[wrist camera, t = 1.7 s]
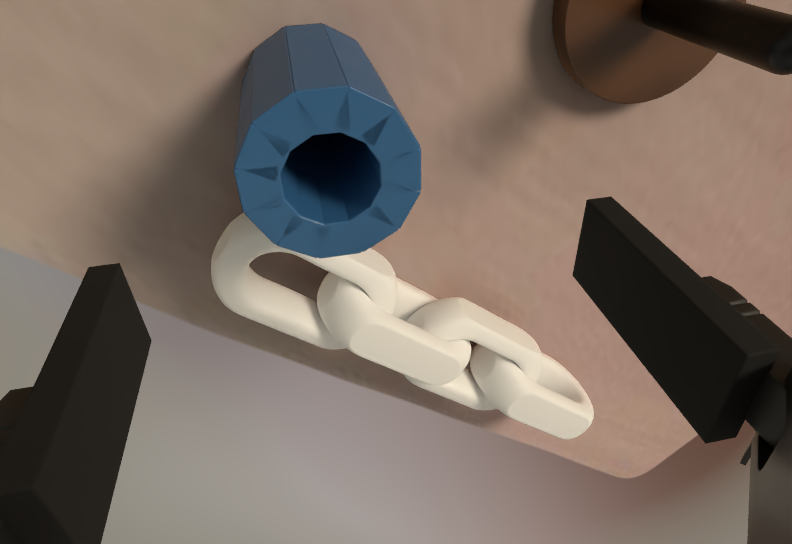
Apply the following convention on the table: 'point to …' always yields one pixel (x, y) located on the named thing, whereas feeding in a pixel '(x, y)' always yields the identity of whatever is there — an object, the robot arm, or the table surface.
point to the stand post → (727, 29)
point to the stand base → (622, 51)
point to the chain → (405, 332)
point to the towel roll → (322, 145)
